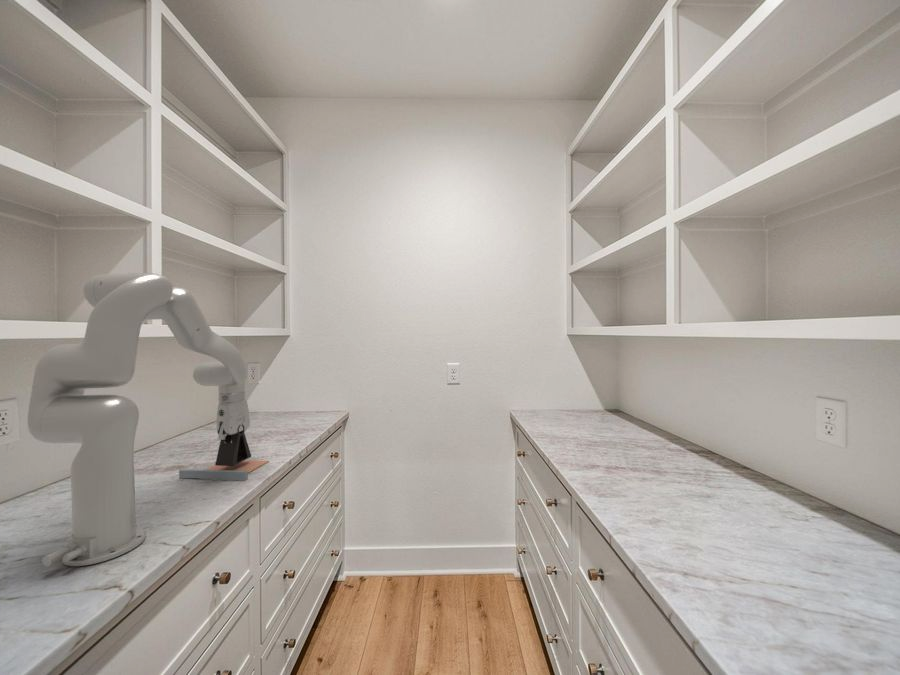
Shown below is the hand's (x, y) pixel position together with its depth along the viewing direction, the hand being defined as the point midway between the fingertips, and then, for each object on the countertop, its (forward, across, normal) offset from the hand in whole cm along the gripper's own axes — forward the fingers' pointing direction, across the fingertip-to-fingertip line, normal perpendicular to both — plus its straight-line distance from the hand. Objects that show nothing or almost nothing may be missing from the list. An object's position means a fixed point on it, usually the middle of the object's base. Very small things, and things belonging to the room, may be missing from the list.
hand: (233, 453), depth 122 cm
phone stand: (+3, 0, 0) cm, 3 cm away
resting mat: (+5, 0, 0) cm, 5 cm away
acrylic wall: (+5, -9, 0) cm, 10 cm away
